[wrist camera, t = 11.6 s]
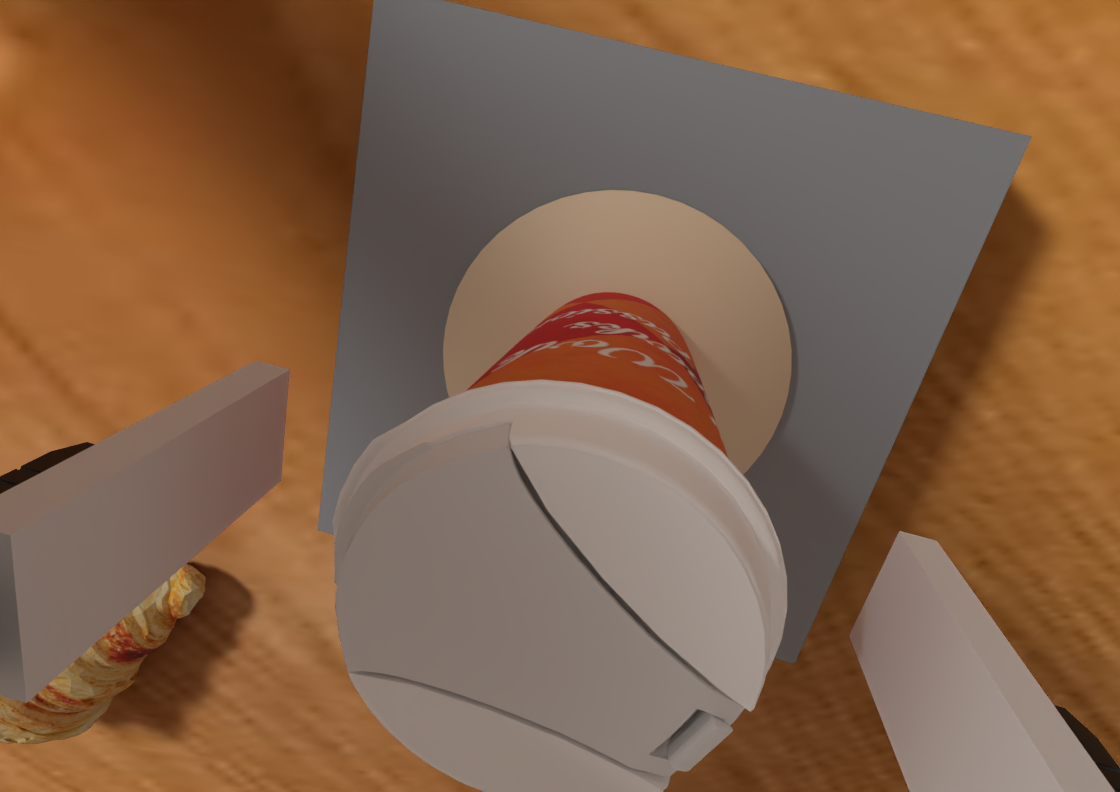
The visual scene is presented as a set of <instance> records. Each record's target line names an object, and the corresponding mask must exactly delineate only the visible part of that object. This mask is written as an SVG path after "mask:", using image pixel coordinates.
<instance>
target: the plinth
mask: <svg viewBox="0 0 1120 792" xmlns="http://www.w3.org/2000/svg"><path fill="white" fill-rule="evenodd" d="M1030 139H1031V136H1027V135H1023V134H1018V133H1014V132H1010V131H1005V130H1001V129H997V128H992V127H988V126H984V125H980V124H975V123H971V122H967V121H962V120H958V119H954V118H949V117H945V116H941V115H936V114H932V113H928V112H923V111H919V110H915V109H910V108H906V107H902V106H897V105H893V104H889V103H884V102H880V101H876V100H872V99H867V98H863V97H859V96H854V95H850V94H846V93H841V92H837V91H833V90H828V89H824V88H820V87H815V86H811V85H807V84H802V83H798V82H794V81H789V80H785V79H781V78H777V77H772V76H768V75H764V74H759V73H755V72H751V71H746V70H742V69H738V68H733V67H729V66H725V65H720V64H716V63H712V62H707V61H703V60H699V59H694V58H690V57H686V56H681V55H677V54H673V53H669V52H664V51H660V50H656V49H651V48H647V47H643V46H638V45H634V44H630V43H625V42H621V41H617V40H612V39H608V38H604V37H599V36H595V35H591V34H586V33H582V32H578V31H573V30H569V29H565V28H561V27H556V26H552V25H548V24H543V23H539V22H535V21H530V20H526V19H522V18H517V17H513V16H509V15H504V14H500V13H496V12H491V11H487V10H483V9H478V8H474V7H470V6H466V5H461V4H457V3H453V2H448V1H444V0H374V2H373V11H372V21H371V30H370V40H369V49H368V59H367V68H366V77H365V87H364V96H363V106H362V115H361V125H360V134H359V144H358V153H357V163H356V172H355V182H354V191H353V201H352V210H351V219H350V229H349V238H348V248H347V257H346V267H345V276H344V286H343V295H342V305H341V314H340V324H339V333H338V343H337V352H336V361H335V371H334V380H333V390H332V399H331V409H330V418H329V428H328V437H327V447H326V456H325V466H324V475H323V485H322V494H321V503H320V513H319V522H318V530H319V531H322V532H326V533H329V534H333V535H334V532H333V524H332V520H333V517H334V513H335V509H336V506H337V502H338V498H339V495H340V492H341V490H342V488H343V486H344V484H345V482H346V480H347V478H348V475H349V473H350V471H351V469H352V467H353V465H354V464H355V463H356V461H357V460H358V459H359V457H360V456H361V455H362V453H363V452H364V451H365V449H366V448H367V447H368V445H369V444H370V443H371V441H372V440H373V439H375V438H377V437H378V436H380V435H382V434H384V433H386V432H387V431H389V430H391V429H393V428H395V427H397V426H398V425H400V424H402V423H404V422H406V421H407V420H409V419H410V418H412V417H414V416H415V415H417V414H418V413H420V412H422V411H423V410H425V409H426V408H428V407H430V406H431V405H433V404H435V403H437V402H440V401H442V400H445V399H447V398H449V397H452V396H454V395H457V394H459V393H462V392H464V391H466V390H467V389H468V388H469V387H470V386H471V385H472V384H474V383H475V382H476V381H477V380H478V379H479V378H480V377H481V376H482V375H483V374H484V373H485V372H487V371H488V370H489V369H490V368H491V367H492V366H493V365H494V364H495V363H496V362H497V361H498V360H500V359H501V358H502V357H503V356H504V355H505V354H506V353H507V352H508V351H509V350H510V349H512V348H513V347H514V346H515V345H516V344H517V343H518V342H519V341H520V340H521V339H523V338H524V337H525V336H526V335H527V334H528V333H529V332H530V331H531V330H533V329H534V328H535V327H536V326H537V325H538V324H539V323H541V322H542V321H543V320H544V319H545V318H547V317H548V316H549V315H550V314H552V313H553V312H554V311H555V310H557V309H558V308H560V307H561V306H563V305H565V304H566V303H568V302H570V301H572V300H574V299H576V298H579V297H581V296H585V295H589V294H593V293H600V292H616V293H623V294H628V295H632V296H635V297H638V298H640V299H643V300H645V301H647V302H649V303H651V304H652V305H654V306H655V307H657V308H658V309H660V310H661V311H662V312H663V313H664V314H666V315H667V316H668V317H669V318H670V319H671V321H672V322H673V323H674V324H675V325H676V327H677V328H678V330H679V331H680V333H681V335H682V336H683V338H684V340H685V342H686V344H687V346H688V349H689V351H690V353H691V355H692V358H693V361H694V363H695V366H696V369H697V371H698V374H699V376H700V379H701V382H702V385H703V388H704V390H705V393H706V396H707V399H708V401H709V404H710V407H711V410H712V412H713V415H714V418H715V421H716V424H717V427H718V429H719V432H720V435H721V438H722V441H723V444H724V446H725V449H726V452H727V455H728V458H729V460H730V461H731V462H732V463H733V464H734V465H735V466H736V467H737V469H738V470H739V471H740V472H741V473H742V474H743V475H744V476H745V478H746V479H747V480H748V481H749V483H750V485H751V486H752V488H753V489H754V491H755V493H756V494H757V496H758V497H759V499H760V500H761V502H762V504H763V505H764V507H765V508H766V510H767V512H768V515H769V517H770V520H771V522H772V525H773V527H774V530H775V532H776V534H777V537H778V539H779V542H780V545H781V550H782V555H783V560H784V565H785V570H786V575H787V614H786V619H785V624H784V630H783V635H782V640H781V642H780V645H779V647H778V650H777V653H776V655H775V658H774V659H778V660H781V661H785V662H788V663H792V664H795V662H796V660H797V657H798V655H799V653H800V651H801V648H802V646H803V644H804V642H805V640H806V637H807V635H808V633H809V631H810V628H811V626H812V624H813V622H814V620H815V617H816V615H817V613H818V611H819V608H820V606H821V604H822V602H823V599H824V597H825V595H826V593H827V591H828V588H829V586H830V584H831V582H832V579H833V577H834V575H835V573H836V571H837V568H838V566H839V564H840V562H841V559H842V557H843V555H844V553H845V551H846V548H847V546H848V544H849V542H850V539H851V537H852V535H853V533H854V531H855V528H856V526H857V524H858V522H859V519H860V517H861V515H862V513H863V511H864V508H865V506H866V504H867V502H868V499H869V497H870V495H871V493H872V491H873V488H874V486H875V484H876V482H877V479H878V477H879V475H880V473H881V471H882V468H883V466H884V464H885V462H886V459H887V457H888V455H889V453H890V451H891V448H892V446H893V444H894V442H895V439H896V437H897V435H898V433H899V431H900V428H901V426H902V424H903V422H904V419H905V417H906V415H907V413H908V411H909V408H910V406H911V404H912V402H913V399H914V397H915V395H916V393H917V391H918V388H919V386H920V384H921V382H922V379H923V377H924V375H925V373H926V371H927V368H928V366H929V364H930V362H931V359H932V357H933V355H934V353H935V351H936V348H937V346H938V344H939V342H940V339H941V337H942V335H943V333H944V331H945V328H946V326H947V324H948V322H949V319H950V317H951V315H952V313H953V311H954V308H955V306H956V304H957V302H958V299H959V297H960V295H961V293H962V291H963V288H964V286H965V284H966V282H967V279H968V277H969V275H970V273H971V271H972V268H973V266H974V264H975V262H976V259H977V257H978V255H979V253H980V251H981V248H982V246H983V244H984V242H985V239H986V237H987V235H988V233H989V231H990V228H991V226H992V224H993V222H994V219H995V217H996V215H997V213H998V211H999V208H1000V206H1001V204H1002V202H1003V199H1004V197H1005V195H1006V193H1007V191H1008V188H1009V186H1010V184H1011V182H1012V179H1013V177H1014V175H1015V173H1016V171H1017V168H1018V166H1019V164H1020V162H1021V159H1022V157H1023V155H1024V153H1025V151H1026V148H1027V146H1028V144H1029V142H1030Z"/></svg>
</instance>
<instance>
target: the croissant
mask: <svg viewBox="0 0 1120 792" xmlns="http://www.w3.org/2000/svg"><path fill="white" fill-rule="evenodd" d="M205 582H206V578H205V576H204V575H202V574H201V573H200V572H199V571H198V570H197V569H196V568H194V567H193V566H191V565H189V564H187V563H186V564H185V565H184V566H183V567H182V568H180V569H179V570H178V571H177V572H176V573H175V574H174V575H172V576H171V577H170V578H169V579H168V580H167V581H166V582H164V583H163V584H162V585H161V586H160V587H159V588H158V589H156V590H155V591H154V592H153V593H152V594H151V595H150V596H148V597H147V598H146V599H145V600H144V601H143V602H142V603H140V604H139V605H138V606H137V607H136V608H135V609H134V610H132V611H131V612H130V613H129V614H128V615H127V616H126V617H124V618H123V619H122V620H121V621H120V622H119V623H118V624H116V625H115V626H114V627H113V628H112V629H111V630H110V631H108V632H107V633H106V634H105V635H104V636H103V637H102V638H100V639H99V640H98V641H97V642H96V643H95V644H94V645H92V646H91V647H90V648H89V649H88V650H87V651H86V652H84V653H83V654H82V655H81V656H80V657H79V658H78V659H76V660H75V661H74V662H73V663H72V664H71V665H70V666H68V667H67V668H66V669H65V670H64V671H63V672H62V673H60V674H59V675H58V676H57V677H56V678H55V679H54V680H52V681H51V682H50V683H49V684H48V685H47V686H46V687H44V688H43V689H42V690H41V691H40V692H39V693H38V694H36V695H35V696H34V697H33V698H32V699H31V700H30V701H28V702H27V703H24V702H21V701H17V700H14V699H11V698H7V697H4V696H1V695H0V742H2V743H7V744H11V743H22V744H38V743H43V742H48V741H52V740H62V739H67V738H70V737H73V736H77V735H79V734H81V733H83V732H85V731H86V730H88V729H89V728H90V727H91V726H92V725H93V724H94V722H95V721H96V720H97V719H98V718H99V717H100V716H101V715H103V714H104V713H105V712H106V711H107V710H108V709H109V707H110V704H111V701H112V700H113V698H114V696H116V695H117V694H119V693H120V692H122V691H123V690H125V689H127V688H128V687H129V686H130V685H132V684H133V683H134V682H135V681H136V680H137V675H138V672H139V669H140V667H139V666H140V664H141V663H142V661H143V660H144V658H145V657H146V656H147V655H148V654H150V653H151V652H152V651H154V650H155V649H157V648H158V647H160V646H161V645H163V644H164V643H165V641H166V640H167V638H168V636H169V634H170V632H171V630H172V629H173V628H174V626H175V622H176V620H177V618H182V617H185V616H187V615H188V614H190V612H191V610H192V609H193V607H194V606H195V605H196V603H197V602H198V601H199V599H201V598H202V597H203V594H204V592H205V590H206V588H205Z"/></svg>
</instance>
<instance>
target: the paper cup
mask: <svg viewBox="0 0 1120 792" xmlns="http://www.w3.org/2000/svg"><path fill="white" fill-rule="evenodd" d="M332 524H333V532H334V539H335V583H336V585H337V589H336V603H335V609H336V616H337V623H338V630H339V637H340V641H341V646H342V650H343V655H344V659H345V663H346V668H347V670H348V674H349V676H350V679H351V681H352V683H353V685H354V687H355V688H356V690H357V691H358V693H359V694H360V696H361V697H362V699H363V701H364V702H365V704H366V705H367V707H368V708H369V710H370V711H371V712H372V713H373V714H374V715H375V717H376V718H377V719H378V720H379V721H380V722H381V724H382V725H383V726H384V727H385V728H386V729H387V731H388V732H390V733H391V734H392V735H393V736H394V737H395V738H396V739H397V740H398V741H400V742H401V743H402V744H403V745H404V746H405V747H406V748H407V749H408V750H410V751H411V752H412V753H414V754H415V755H417V756H418V757H419V758H421V759H422V760H424V761H425V762H426V763H428V764H429V765H431V766H432V767H434V768H435V769H437V770H439V771H441V772H443V773H444V774H446V775H448V776H450V777H452V778H454V779H455V780H457V781H459V782H461V783H464V784H466V785H468V786H471V787H473V788H476V789H478V790H481V791H483V792H663V791H664V789H666V788H667V787H668V785H669V780H670V776H671V775H672V774H674V773H675V772H676V771H677V770H678V771H683V772H687V771H689V770H690V769H692V768H693V767H694V766H695V765H696V764H697V763H698V762H699V761H700V760H702V759H703V758H704V757H705V756H706V755H707V754H708V753H709V752H710V751H712V750H713V749H714V748H715V747H716V746H717V745H718V744H719V743H720V742H722V741H723V740H724V739H725V738H726V737H727V736H728V735H729V734H730V733H731V732H733V729H732V727H731V726H730V725H731V724H732V723H733V722H734V721H735V720H736V719H737V718H738V717H739V716H740V714H741V713H742V711H743V710H744V709H745V708H746V709H747V710H748V711H750V712H751V711H752V710H753V709H754V708H755V705H756V703H757V700H758V698H759V695H760V693H761V690H762V688H763V685H764V682H765V677H766V674H767V672H768V671H769V669H770V668H771V665H772V663H773V660H774V658H775V655H776V653H777V650H778V647H779V645H780V642H781V640H782V635H783V630H784V624H785V619H786V614H787V575H786V570H785V565H784V560H783V555H782V550H781V545H780V542H779V539H778V537H777V534H776V532H775V530H774V527H773V525H772V522H771V520H770V517H769V515H768V512H767V510H766V508H765V507H764V505H763V504H762V502H761V500H760V499H759V497H758V496H757V494H756V493H755V491H754V489H753V488H752V486H751V485H750V483H749V481H748V480H747V479H746V478H745V476H744V475H743V474H742V473H741V472H740V471H739V470H738V469H737V467H736V466H735V465H734V464H733V463H732V462H731V461H730V460H729V458H728V455H727V452H726V449H725V446H724V444H723V441H722V438H721V435H720V432H719V429H718V427H717V424H716V421H715V418H714V415H713V412H712V410H711V407H710V404H709V401H708V399H707V396H706V393H705V390H704V388H703V385H702V382H701V379H700V376H699V374H698V371H697V369H696V366H695V363H694V361H693V358H692V355H691V353H690V351H689V349H688V346H687V344H686V342H685V340H684V338H683V336H682V335H681V333H680V331H679V330H678V328H677V327H676V325H675V324H674V323H673V322H672V321H671V319H670V318H669V317H668V316H667V315H666V314H664V313H663V312H662V311H661V310H660V309H658V308H657V307H655V306H654V305H652V304H651V303H649V302H647V301H645V300H643V299H640V298H638V297H635V296H632V295H628V294H623V293H616V292H600V293H593V294H589V295H585V296H581V297H579V298H576V299H574V300H572V301H570V302H568V303H566V304H565V305H563V306H561V307H560V308H558V309H557V310H555V311H554V312H553V313H552V314H550V315H549V316H548V317H547V318H545V319H544V320H543V321H542V322H541V323H539V324H538V325H537V326H536V327H535V328H534V329H533V330H531V331H530V332H529V333H528V334H527V335H526V336H525V337H524V338H523V339H521V340H520V341H519V342H518V343H517V344H516V345H515V346H514V347H513V348H512V349H510V350H509V351H508V352H507V353H506V354H505V355H504V356H503V357H502V358H501V359H500V360H498V361H497V362H496V363H495V364H494V365H493V366H492V367H491V368H490V369H489V370H488V371H487V372H485V373H484V374H483V375H482V376H481V377H480V378H479V379H478V380H477V381H476V382H475V383H474V384H472V385H471V386H470V387H469V388H468V389H467V390H466V391H464V392H462V393H459V394H457V395H454V396H452V397H449V398H447V399H445V400H442V401H440V402H437V403H435V404H433V405H431V406H430V407H428V408H426V409H425V410H423V411H422V412H420V413H418V414H417V415H415V416H414V417H412V418H410V419H409V420H407V421H406V422H404V423H402V424H400V425H398V426H397V427H395V428H393V429H391V430H389V431H387V432H386V433H384V434H382V435H380V436H378V437H377V438H375V439H373V440H372V441H371V443H370V444H369V445H368V447H367V448H366V449H365V451H364V452H363V453H362V455H361V456H360V457H359V459H358V460H357V461H356V463H355V464H354V465H353V467H352V469H351V471H350V473H349V475H348V478H347V480H346V482H345V484H344V486H343V488H342V490H341V492H340V495H339V498H338V502H337V506H336V509H335V513H334V517H333V520H332Z"/></svg>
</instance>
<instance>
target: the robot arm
mask: <svg viewBox="0 0 1120 792" xmlns="http://www.w3.org/2000/svg"><path fill="white" fill-rule="evenodd" d="M288 382H289V369H285V368H282V367H278V366H274V365H270V364H267V363H263V362H259V361H254V362H252V363H250V364H248V365H246V366H244V367H242V368H240V369H239V370H237V371H235V372H233V373H231V374H229V375H227V376H225V377H223V378H221V379H219V380H218V381H216V382H214V383H212V384H210V385H208V386H206V387H204V388H202V389H200V390H198V391H196V392H195V393H193V394H191V395H189V396H187V397H185V398H183V399H181V400H179V401H177V402H175V403H174V404H172V405H170V406H168V407H166V408H164V409H162V410H160V411H158V412H156V413H154V414H152V415H151V416H149V417H147V418H145V419H143V420H141V421H139V422H137V423H135V424H133V425H131V426H129V427H128V428H126V429H124V430H122V431H120V432H118V433H116V434H114V435H112V436H110V437H108V438H107V439H105V440H103V441H101V442H99V443H97V444H92V443H88V442H86V443H82V444H78V445H74V446H70V447H67V448H63V449H59V450H55V451H51V452H49V453H47V454H45V455H43V456H41V457H39V458H37V459H35V460H33V461H31V462H29V463H27V464H25V465H23V466H21V469H20V470H17V469H15V470H13V471H11V472H9V473H7V474H5V475H3V476H1V477H0V695H1V696H4V697H7V698H11V699H14V700H17V701H21V702H24V703H27V702H28V701H30V700H31V699H32V698H33V697H34V696H35V695H36V694H38V693H39V692H40V691H41V690H42V689H43V688H44V687H46V686H47V685H48V684H49V683H50V682H51V681H52V680H54V679H55V678H56V677H57V676H58V675H59V674H60V673H62V672H63V671H64V670H65V669H66V668H67V667H68V666H70V665H71V664H72V663H73V662H74V661H75V660H76V659H78V658H79V657H80V656H81V655H82V654H83V653H84V652H86V651H87V650H88V649H89V648H90V647H91V646H92V645H94V644H95V643H96V642H97V641H98V640H99V639H100V638H102V637H103V636H104V635H105V634H106V633H107V632H108V631H110V630H111V629H112V628H113V627H114V626H115V625H116V624H118V623H119V622H120V621H121V620H122V619H123V618H124V617H126V616H127V615H128V614H129V613H130V612H131V611H132V610H134V609H135V608H136V607H137V606H138V605H139V604H140V603H142V602H143V601H144V600H145V599H146V598H147V597H148V596H150V595H151V594H152V593H153V592H154V591H155V590H156V589H158V588H159V587H160V586H161V585H162V584H163V583H164V582H166V581H167V580H168V579H169V578H170V577H171V576H172V575H174V574H175V573H176V572H177V571H178V570H179V569H180V568H182V567H183V566H184V565H185V564H186V563H187V562H188V561H190V560H191V559H192V558H193V557H194V556H195V555H196V554H198V553H199V552H200V551H201V550H202V549H203V548H204V547H206V546H207V545H208V544H209V543H210V542H211V541H212V540H214V539H215V538H216V537H217V536H218V535H219V534H220V533H222V532H223V531H224V530H225V529H226V528H227V527H228V526H230V525H231V524H232V523H233V522H234V521H235V520H236V519H238V518H239V517H240V516H241V515H242V514H243V513H244V512H246V511H247V510H248V509H249V508H250V507H251V506H252V505H254V504H255V503H256V502H257V501H258V500H259V499H260V498H262V497H263V496H264V495H265V494H266V493H267V492H268V491H270V490H271V489H272V488H273V487H274V486H275V485H276V484H278V483H279V482H280V481H281V473H282V460H283V447H284V434H285V421H286V408H287V395H288ZM849 638H850V640H851V643H852V645H853V648H854V650H855V653H856V656H857V658H858V661H859V663H860V666H861V668H862V671H863V674H864V676H865V679H866V681H867V684H868V686H869V689H870V691H871V694H872V697H873V699H874V702H875V704H876V707H877V709H878V712H879V715H880V717H881V720H882V722H883V725H884V727H885V730H886V732H887V735H888V738H889V740H890V743H891V745H892V748H893V750H894V753H895V756H896V758H897V761H898V763H899V766H900V768H901V771H902V773H903V776H904V779H905V781H906V784H907V786H908V789H909V791H910V792H1120V768H1119V767H1118V765H1117V764H1116V763H1115V761H1114V760H1113V759H1112V757H1111V756H1110V755H1109V753H1108V752H1107V751H1106V749H1105V748H1104V746H1103V745H1102V744H1101V742H1100V741H1099V740H1098V738H1097V737H1095V736H1094V735H1093V734H1092V733H1091V732H1090V731H1089V730H1088V729H1087V728H1086V727H1085V726H1083V725H1082V724H1081V723H1080V722H1079V721H1078V720H1077V719H1076V718H1075V717H1074V716H1073V715H1071V714H1070V713H1069V712H1068V711H1067V710H1066V709H1065V708H1062V707H1058V706H1054V705H1053V704H1052V702H1051V701H1050V699H1049V698H1048V697H1047V695H1046V694H1045V692H1044V691H1043V689H1042V688H1041V687H1040V685H1039V684H1038V682H1037V681H1036V680H1035V678H1034V677H1033V675H1032V674H1031V673H1030V671H1029V670H1028V668H1027V667H1026V666H1025V664H1024V663H1023V661H1022V660H1021V659H1020V657H1019V656H1018V654H1017V653H1016V651H1015V650H1014V649H1013V647H1012V646H1011V644H1010V643H1009V642H1008V640H1007V639H1006V637H1005V636H1004V635H1003V633H1002V632H1001V630H1000V629H999V628H998V626H997V625H996V623H995V622H994V621H993V619H992V618H991V616H990V615H989V613H988V612H987V611H986V609H985V608H984V606H983V605H982V604H981V602H980V601H979V599H978V598H977V597H976V595H975V594H974V592H973V591H972V590H971V588H970V587H969V585H968V584H967V582H966V581H965V580H964V578H963V577H962V575H961V574H960V573H959V571H958V570H957V568H956V567H955V566H954V564H953V563H952V561H951V560H950V559H949V557H948V556H947V554H946V553H945V552H944V550H943V549H942V547H941V546H940V544H939V543H938V542H937V541H936V540H932V539H929V538H925V537H921V536H917V535H913V534H910V533H906V532H902V531H899V533H898V535H897V537H896V539H895V541H894V543H893V545H892V547H891V549H890V551H889V553H888V555H887V558H886V560H885V562H884V564H883V566H882V568H881V570H880V572H879V574H878V576H877V578H876V580H875V582H874V585H873V587H872V589H871V591H870V593H869V595H868V597H867V599H866V601H865V603H864V605H863V607H862V609H861V612H860V614H859V616H858V618H857V620H856V622H855V624H854V626H853V628H852V630H851V632H850V634H849Z"/></svg>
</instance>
